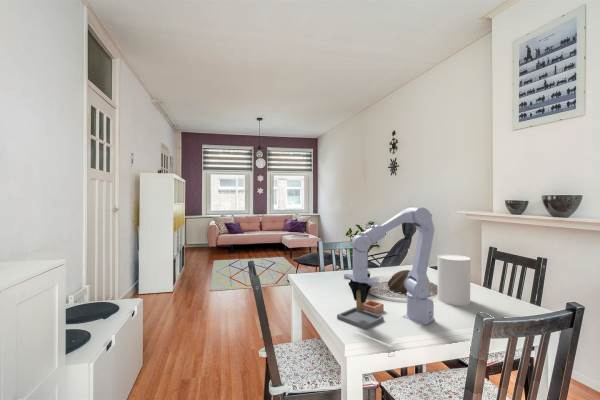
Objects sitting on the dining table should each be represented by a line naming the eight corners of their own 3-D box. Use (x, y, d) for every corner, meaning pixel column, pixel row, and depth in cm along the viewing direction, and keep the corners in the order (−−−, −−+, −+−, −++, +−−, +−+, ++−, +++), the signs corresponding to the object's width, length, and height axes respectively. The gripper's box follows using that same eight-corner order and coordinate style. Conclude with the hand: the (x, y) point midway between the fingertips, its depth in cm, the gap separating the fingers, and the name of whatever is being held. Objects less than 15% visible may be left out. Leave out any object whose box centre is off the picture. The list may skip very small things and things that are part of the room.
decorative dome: (434, 289, 154) (434, 270, 154) (414, 298, 142) (414, 277, 142) (401, 281, 169) (401, 263, 169) (380, 288, 157) (380, 269, 157)
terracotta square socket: (383, 311, 125) (383, 303, 125) (374, 316, 121) (374, 308, 121) (369, 307, 130) (369, 299, 130) (360, 311, 126) (360, 303, 126)
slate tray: (383, 321, 116) (383, 316, 116) (365, 330, 108) (365, 325, 108) (355, 311, 126) (355, 307, 126) (337, 319, 118) (337, 314, 118)
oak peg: (365, 311, 117) (365, 290, 116) (360, 313, 115) (360, 292, 114) (359, 309, 119) (359, 289, 118) (354, 310, 117) (354, 290, 117)
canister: (433, 300, 138) (433, 257, 138) (442, 293, 148) (443, 253, 148) (465, 307, 129) (465, 261, 129) (473, 299, 139) (473, 256, 139)
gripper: (339, 264, 119) (339, 298, 119) (369, 271, 108) (369, 308, 108) (350, 262, 124) (350, 294, 124) (380, 268, 113) (380, 304, 113)
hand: (360, 301), depth 117 cm, fingers closed on oak peg, 3 cm apart
